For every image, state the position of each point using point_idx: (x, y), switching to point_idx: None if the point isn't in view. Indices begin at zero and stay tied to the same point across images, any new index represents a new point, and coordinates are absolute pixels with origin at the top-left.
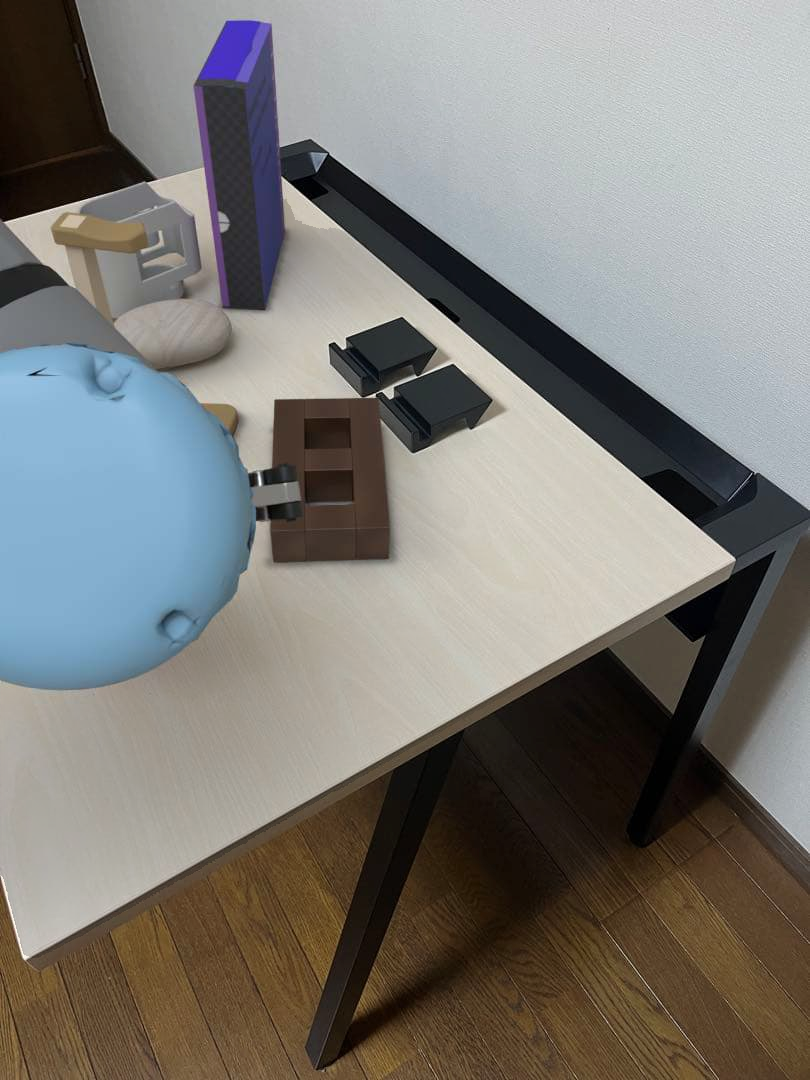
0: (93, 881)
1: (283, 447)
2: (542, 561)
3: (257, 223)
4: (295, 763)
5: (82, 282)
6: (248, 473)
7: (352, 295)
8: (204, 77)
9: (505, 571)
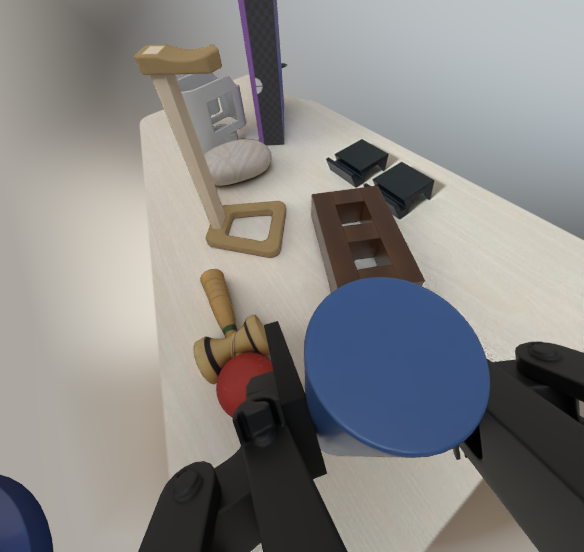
0: None
1: (328, 226)
2: (519, 288)
3: (279, 84)
4: (409, 503)
5: (172, 113)
6: (550, 354)
7: (330, 130)
8: None
9: (497, 299)
